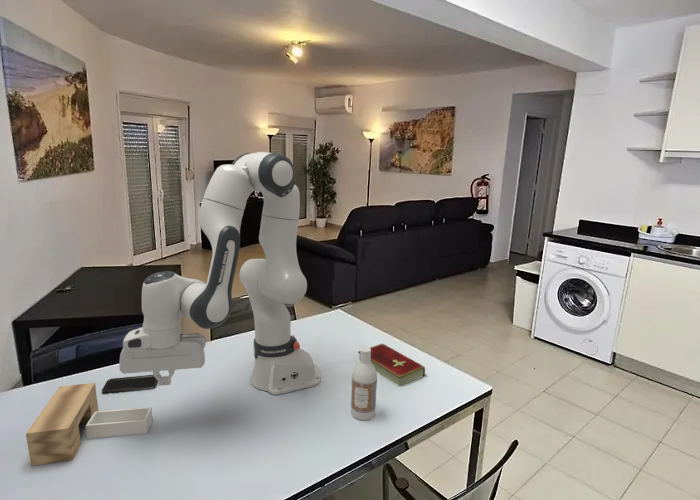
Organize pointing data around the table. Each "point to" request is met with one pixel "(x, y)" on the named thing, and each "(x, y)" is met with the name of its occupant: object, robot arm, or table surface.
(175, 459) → the table surface
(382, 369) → the hardcover book
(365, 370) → the bath foam
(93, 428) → the white drawer
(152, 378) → the phone
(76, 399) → the overhang dock
